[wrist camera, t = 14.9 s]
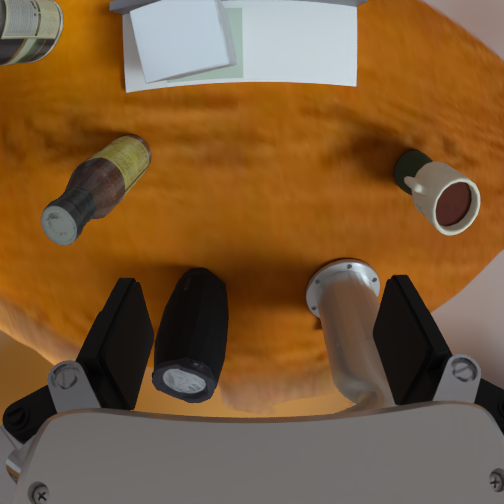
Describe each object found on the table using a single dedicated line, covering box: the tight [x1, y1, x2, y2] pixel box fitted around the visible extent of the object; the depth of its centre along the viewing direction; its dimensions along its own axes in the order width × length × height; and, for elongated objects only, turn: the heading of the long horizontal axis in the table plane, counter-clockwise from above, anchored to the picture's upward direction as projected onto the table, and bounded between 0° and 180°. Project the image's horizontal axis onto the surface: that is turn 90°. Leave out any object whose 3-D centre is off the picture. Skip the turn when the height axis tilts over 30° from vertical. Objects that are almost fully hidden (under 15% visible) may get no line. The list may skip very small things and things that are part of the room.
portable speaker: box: [152, 268, 229, 403], centre depth 44 cm, size 9×9×20 cm
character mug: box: [394, 150, 480, 235], centre depth 36 cm, size 11×7×13 cm, turn 77°
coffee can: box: [0, 0, 63, 66], centre depth 23 cm, size 10×10×14 cm
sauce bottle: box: [41, 135, 151, 245], centre depth 32 cm, size 6×6×20 cm
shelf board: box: [123, 0, 357, 93], centre depth 32 cm, size 12×28×2 cm, turn 91°
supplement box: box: [130, 0, 238, 84], centre depth 26 cm, size 7×7×13 cm
